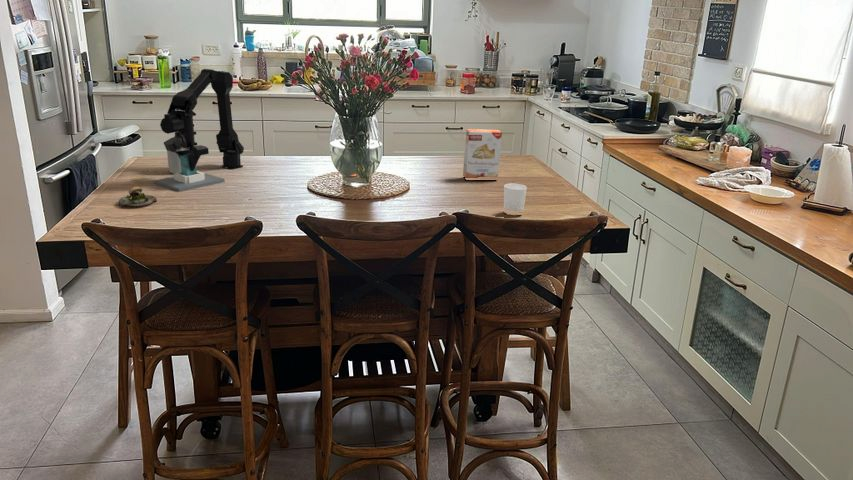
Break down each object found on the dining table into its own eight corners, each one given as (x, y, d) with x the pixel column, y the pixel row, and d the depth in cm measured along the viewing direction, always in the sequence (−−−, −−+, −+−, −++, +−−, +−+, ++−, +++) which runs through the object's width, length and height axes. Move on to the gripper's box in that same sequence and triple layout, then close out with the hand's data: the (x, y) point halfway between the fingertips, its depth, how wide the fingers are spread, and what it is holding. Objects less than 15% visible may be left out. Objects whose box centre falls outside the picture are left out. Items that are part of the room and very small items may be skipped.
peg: (190, 174, 256) (189, 154, 253) (197, 176, 254) (195, 155, 251) (181, 176, 253) (179, 155, 250) (187, 178, 251) (186, 157, 248)
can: (191, 170, 271) (189, 141, 267) (183, 175, 264) (181, 145, 260) (174, 169, 271) (171, 140, 267) (165, 174, 264) (162, 144, 260)
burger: (118, 210, 220) (116, 189, 217) (119, 200, 230) (116, 179, 227) (157, 208, 224) (155, 186, 222) (156, 198, 234) (154, 177, 232)
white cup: (500, 210, 238) (502, 183, 235) (521, 210, 239) (524, 183, 236) (504, 216, 231) (506, 189, 228) (526, 217, 232) (529, 189, 228)
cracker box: (465, 181, 274) (468, 131, 267) (462, 177, 280) (465, 128, 273) (498, 181, 277) (502, 131, 269) (494, 177, 282) (498, 129, 275)
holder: (199, 174, 266) (198, 165, 265) (224, 181, 257) (224, 172, 256) (154, 183, 251) (153, 174, 250) (179, 191, 242) (178, 182, 241)
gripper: (151, 128, 246) (155, 169, 251) (181, 135, 236) (185, 178, 241) (178, 124, 255) (181, 164, 260) (208, 131, 244) (210, 172, 250)
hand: (188, 169), depth 252 cm, fingers closed on peg, 4 cm apart
